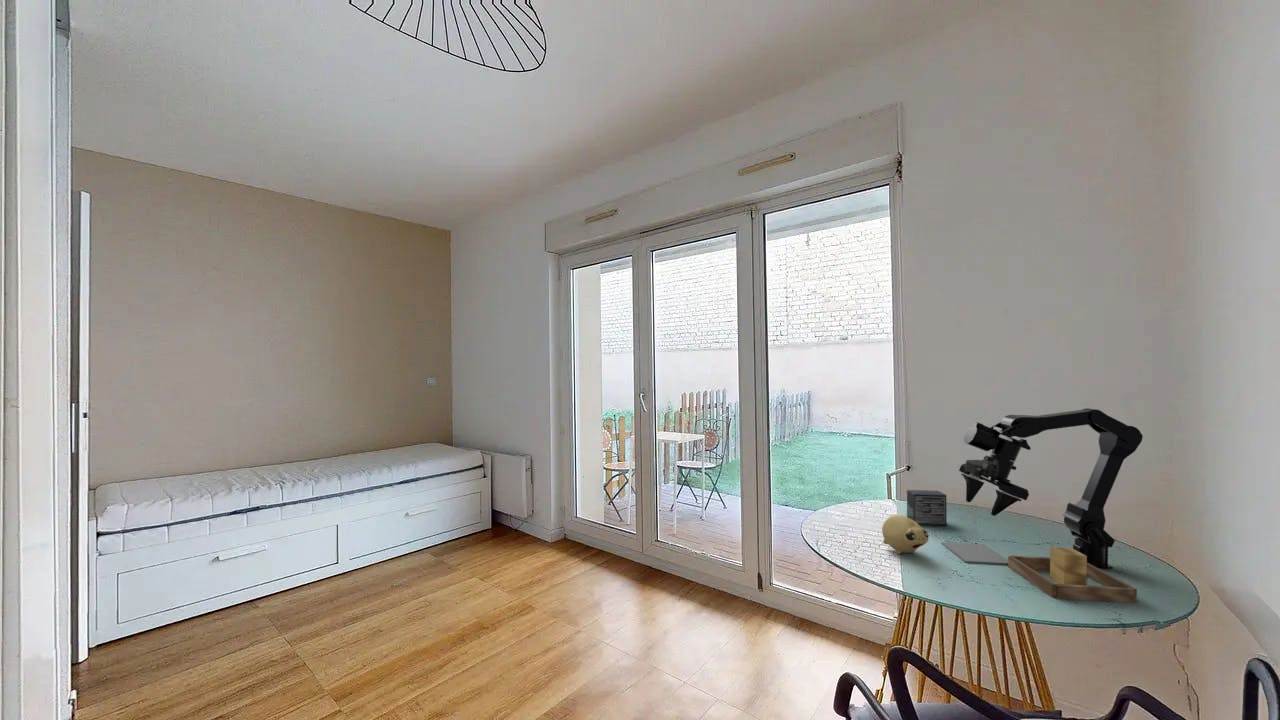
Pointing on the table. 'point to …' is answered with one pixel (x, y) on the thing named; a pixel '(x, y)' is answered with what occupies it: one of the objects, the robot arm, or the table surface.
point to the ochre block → (1067, 566)
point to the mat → (975, 553)
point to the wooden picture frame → (1111, 592)
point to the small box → (927, 507)
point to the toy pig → (903, 534)
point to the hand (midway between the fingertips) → (979, 508)
